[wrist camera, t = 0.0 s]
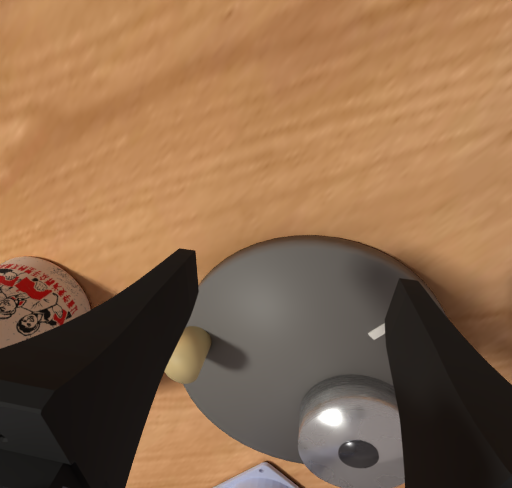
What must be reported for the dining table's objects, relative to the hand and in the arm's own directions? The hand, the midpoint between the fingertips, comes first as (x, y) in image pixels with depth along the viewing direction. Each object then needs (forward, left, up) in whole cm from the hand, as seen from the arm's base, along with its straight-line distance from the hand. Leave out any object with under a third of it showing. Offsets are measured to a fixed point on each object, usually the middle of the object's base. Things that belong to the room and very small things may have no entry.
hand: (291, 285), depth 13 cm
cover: (-8, -14, -8) cm, 19 cm away
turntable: (-8, -9, -11) cm, 16 cm away
